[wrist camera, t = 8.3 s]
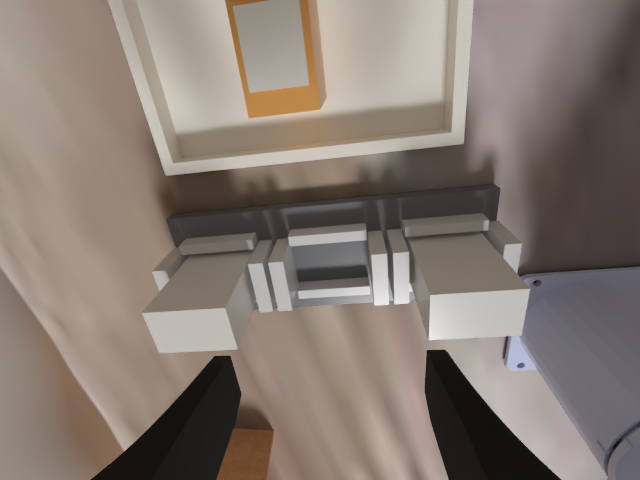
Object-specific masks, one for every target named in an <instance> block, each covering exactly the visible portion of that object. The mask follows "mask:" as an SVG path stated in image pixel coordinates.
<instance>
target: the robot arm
mask: <svg viewBox="0 0 640 480" xmlns="http://www.w3.org/2000/svg"><path fill="white" fill-rule="evenodd" d="M520 278H521V279H522V280H523V281H524V282H525V283H526V284H527V286H528V287H529V288H530V293H529V299H528V304H527V309H526V314H525V320H524V325H523V330H522V335H521V336H508V342H507V348H506V354H505V360H504V365H505V367H506V368H507V369H508V370H538V372H539V373H540V375H541V376H542V378H543V379H544V381H545V382H546V384H547V385H548V387H549V388H550V390H551V391H552V393H553V394H554V396H555V397H556V399H557V400H558V402H559V403H560V405H561V407H562V408H563V410H564V411H565V413H566V414H567V416H568V417H569V419H570V420H571V422H572V423H573V425H574V426H575V428H576V429H577V431H578V432H579V434H580V435H581V437H582V438H583V440H584V441H585V443H586V444H587V446H588V447H589V449H590V451H591V452H592V454H593V455H594V457H595V458H596V460H597V461H598V463H599V464H600V466H601V467H602V469H603V470H604V472H605V473H606V475H607V476H608V478H607V480H640V267H627V268H612V269H597V270H582V271H567V272H552V273H537V274H526V275H523V276H521V277H520ZM536 280H538V281H537V282H536V283H533V282H534V281H536ZM519 363H520V364H519ZM425 395H426V400H427V405H428V410H429V415H430V420H431V423H432V427H433V430H434V433H435V437H436V440H437V443H438V446H439V450H440V453H441V456H442V459H443V462H444V466H445V469H446V472H447V475H448V478H449V480H561V479H560V478H559V477H558V476H556V475H555V474H554V473H553V472H552V471H551V470H550V469H549V468H548V467H547V466H546V465H545V464H544V463H542V462H541V461H540V460H539V459H538V458H537V457H536V456H535V455H534V454H533V453H532V452H531V451H530V450H529V449H528V448H527V447H526V446H525V445H524V444H523V443H522V442H521V441H520V440H519V439H518V438H517V437H516V436H515V435H514V434H513V433H512V432H511V431H510V429H509V428H508V427H507V426H506V425H505V424H504V423H503V422H502V421H501V420H500V418H499V417H498V416H497V415H496V414H495V413H494V412H493V411H492V409H491V408H490V407H489V406H488V405H487V403H486V402H485V401H484V400H483V399H482V397H481V396H480V395H479V394H478V393H477V391H476V390H475V389H474V388H473V386H472V385H471V384H470V383H469V381H468V380H467V379H466V377H465V376H464V375H463V373H462V372H461V371H460V369H459V368H458V367H457V365H456V364H455V362H454V361H453V359H452V358H451V357H450V355H449V354H448V352H447V351H446V350H427V357H426V376H425ZM240 398H241V391H240V387H239V384H238V381H237V377H236V374H235V370H234V367H233V363H232V360H231V357H230V356H214V357H213V359H212V360H211V361H210V362H209V363H208V364H207V365H206V366H205V368H204V369H203V370H202V371H201V372H200V373H199V375H198V376H197V377H196V378H195V379H194V380H193V382H192V383H191V384H190V385H189V386H188V387H187V388H186V390H185V391H184V392H183V393H182V394H181V395H180V396H179V397H178V398H177V400H176V401H175V402H174V403H173V404H172V405H171V406H170V407H169V408H168V409H167V410H166V411H165V412H164V414H163V415H162V416H161V417H160V418H159V419H158V420H157V421H156V422H155V423H154V424H153V425H152V426H151V427H150V428H149V429H148V430H147V431H146V432H145V433H144V434H143V435H142V436H141V437H140V438H139V439H138V440H137V441H135V442H134V443H133V444H132V445H131V446H130V447H129V448H128V449H127V450H126V451H124V452H123V453H122V454H121V455H120V456H119V457H118V458H117V459H115V460H114V461H113V462H112V463H111V464H109V465H108V466H107V467H106V468H104V469H103V470H102V471H101V472H100V473H98V474H97V475H96V476H95V477H94V478H92V479H91V480H216V479H217V476H218V473H219V470H220V467H221V464H222V461H223V458H224V455H225V452H226V449H227V446H228V443H229V440H230V437H231V434H232V431H233V428H234V425H235V422H236V417H237V413H238V408H239V403H240Z"/></svg>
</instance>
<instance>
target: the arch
mask: <svg viewBox="0 0 640 480" xmlns="http://www.w3.org/2000/svg"><path fill="white" fill-rule="evenodd" d="M273 434H274V430H260V429H241V428H233V431H232V434H231V437H230V440H229V443H228V446H227V449H226V452H225V455H224V458H223V461H222V464H221V467H220V470H219V473H218V476H217V479H216V480H267V475H268V468H269V461H270V454H271V448H272V442H273V436H274V435H273Z"/></svg>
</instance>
